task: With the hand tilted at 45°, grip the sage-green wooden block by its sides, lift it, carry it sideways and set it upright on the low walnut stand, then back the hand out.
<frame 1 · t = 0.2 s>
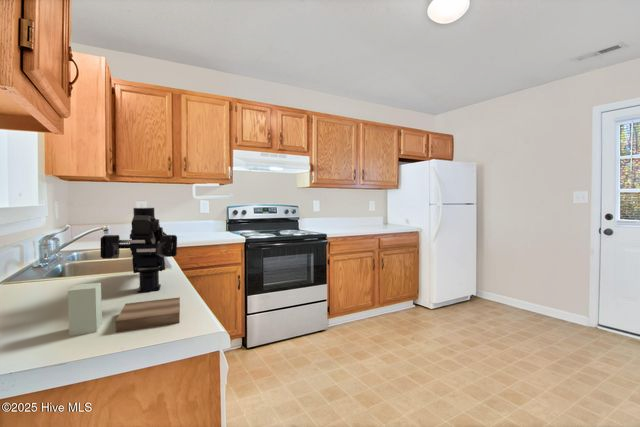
hand: (136, 252, 80), 16 cm above the countertop, tool horizontal, fingers open, 9 cm apart
walnut stand: (151, 317, 78), on the countertop
sage block: (86, 329, 71), on the countertop
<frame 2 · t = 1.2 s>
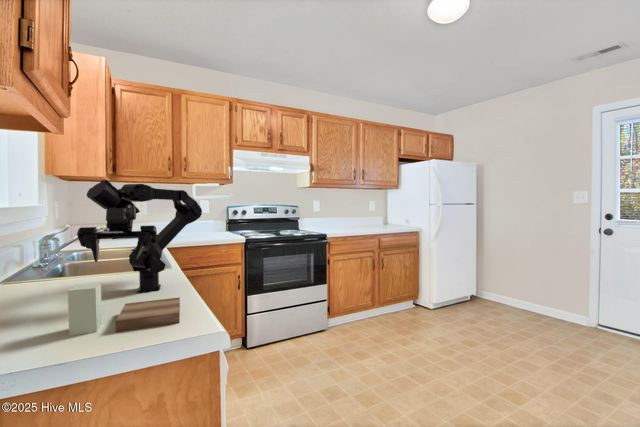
hand: (116, 259, 83), 14 cm above the countertop, tool tilted 45°, fingers open, 9 cm apart
nothing on the countertop moved.
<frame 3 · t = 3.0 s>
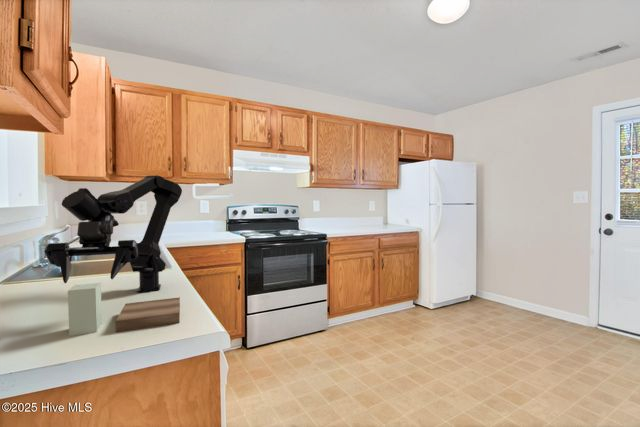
hand: (88, 280, 74), 11 cm above the countertop, tool tilted 45°, fingers open, 9 cm apart
nothing on the countertop moved.
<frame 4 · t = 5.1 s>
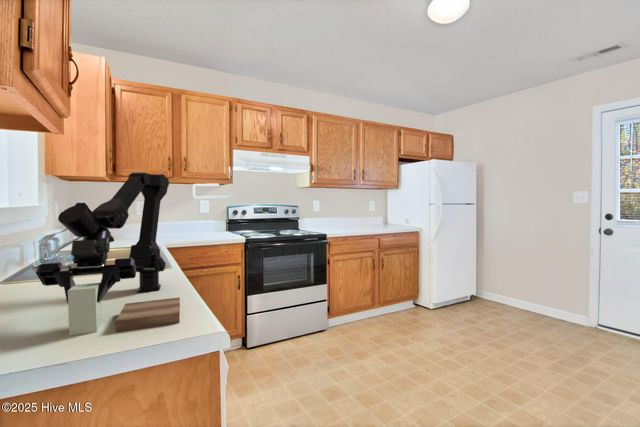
hand: (83, 302, 69), 7 cm above the countertop, tool tilted 45°, fingers closed on sage block, 5 cm apart
sage block: (86, 329, 71), on the countertop, touching gripper
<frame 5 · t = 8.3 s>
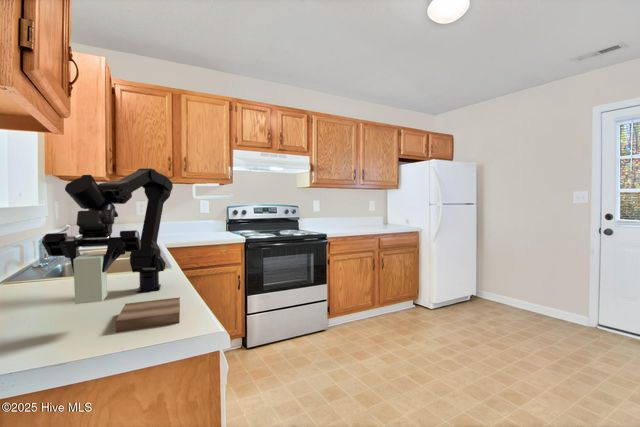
hand: (89, 272, 70), 13 cm above the countertop, tool tilted 45°, fingers closed on sage block, 5 cm apart
sage block: (91, 299, 71), point 7 cm above the countertop, touching gripper
when the fingers open (10 cm above the countertop, at t = 11.6 s): sage block drops 1 cm, resting on walnut stand.
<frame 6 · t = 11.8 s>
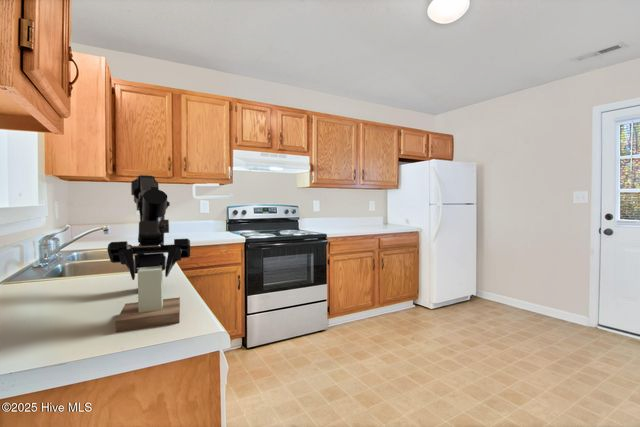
hand: (150, 277, 76), 11 cm above the countertop, tool tilted 45°, fingers open, 7 cm apart
sage block: (151, 307, 78), point 2 cm above the countertop, touching walnut stand
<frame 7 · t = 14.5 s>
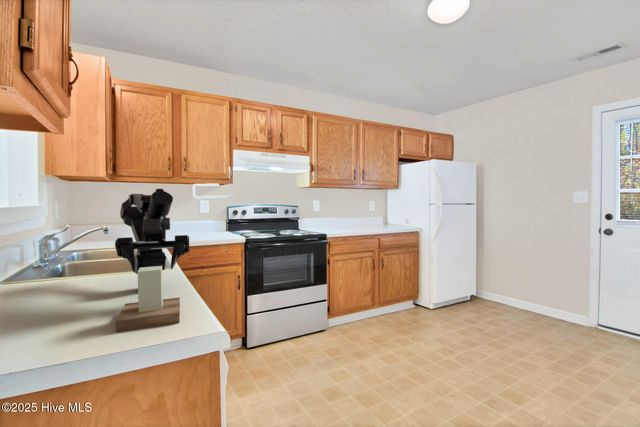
hand: (153, 269, 85), 11 cm above the countertop, tool tilted 45°, fingers open, 9 cm apart
nothing on the countertop moved.
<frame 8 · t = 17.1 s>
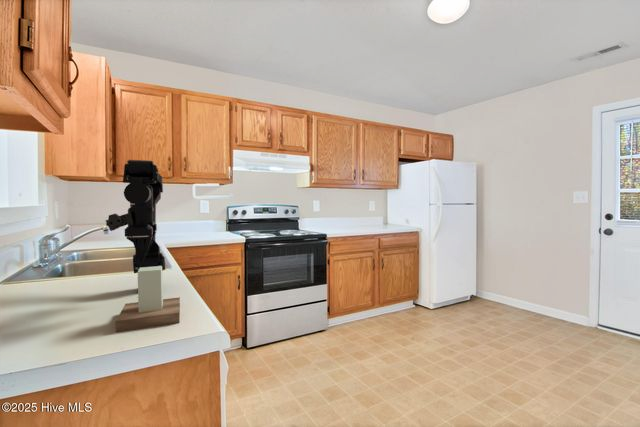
hand: (142, 258, 89), 13 cm above the countertop, tool pointing down, fingers open, 9 cm apart
nothing on the countertop moved.
at the end: sage block inside the target area on the walnut stand (0.0 cm from its centre), point 2.5 cm above the walnut stand's base; sage block tilted 0°; the gripper is holding nothing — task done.
